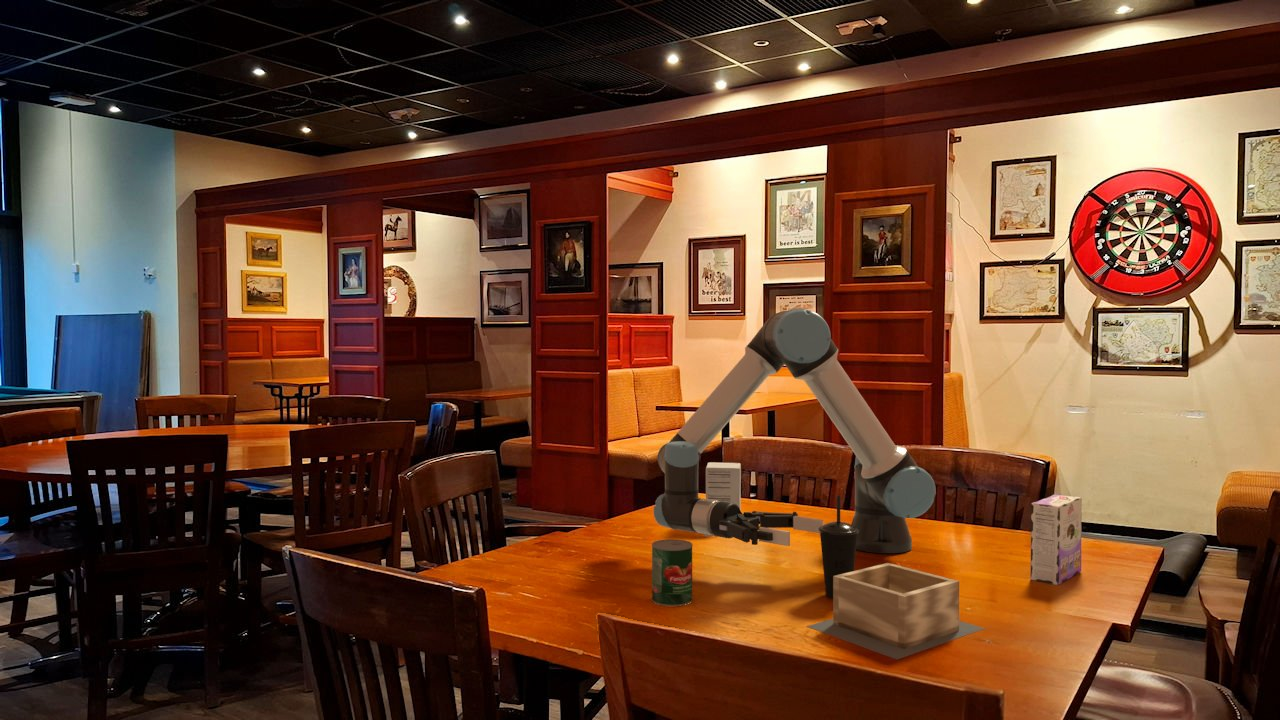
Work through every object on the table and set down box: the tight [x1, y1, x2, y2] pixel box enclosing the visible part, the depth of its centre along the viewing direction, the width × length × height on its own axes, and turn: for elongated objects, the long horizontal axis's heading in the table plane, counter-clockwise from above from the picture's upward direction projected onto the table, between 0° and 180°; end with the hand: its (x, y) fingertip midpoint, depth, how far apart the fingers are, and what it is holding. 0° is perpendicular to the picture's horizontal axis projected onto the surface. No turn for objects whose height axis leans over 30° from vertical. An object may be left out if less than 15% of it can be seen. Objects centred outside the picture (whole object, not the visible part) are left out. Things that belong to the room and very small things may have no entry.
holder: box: [832, 562, 960, 649], centre depth 147 cm, size 15×15×8 cm
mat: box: [806, 618, 986, 660], centre depth 147 cm, size 24×19×1 cm
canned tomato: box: [651, 538, 693, 607], centre depth 164 cm, size 8×8×11 cm
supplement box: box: [705, 461, 742, 512], centre depth 228 cm, size 10×9×17 cm
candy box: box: [1030, 494, 1082, 586], centre depth 180 cm, size 14×6×16 cm, turn 135°
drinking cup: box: [818, 495, 859, 600], centre depth 165 cm, size 8×8×20 cm
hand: (806, 532), depth 169 cm, fingers open, 13 cm apart
